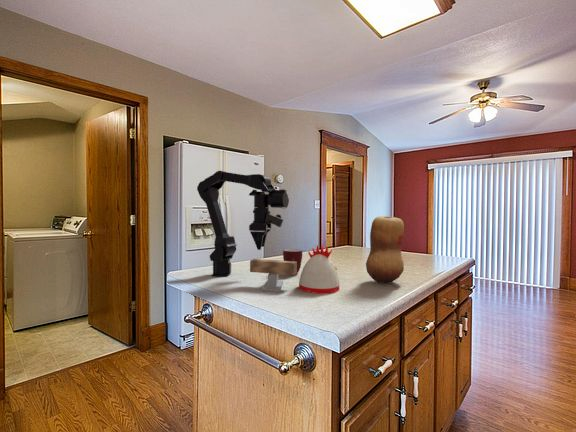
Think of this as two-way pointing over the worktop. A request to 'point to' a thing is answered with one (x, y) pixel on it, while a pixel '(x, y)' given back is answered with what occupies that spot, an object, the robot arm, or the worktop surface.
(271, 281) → the ridge block
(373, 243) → the butternut squash
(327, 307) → the worktop surface
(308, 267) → the kitchen timer
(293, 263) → the walnut bar
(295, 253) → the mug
